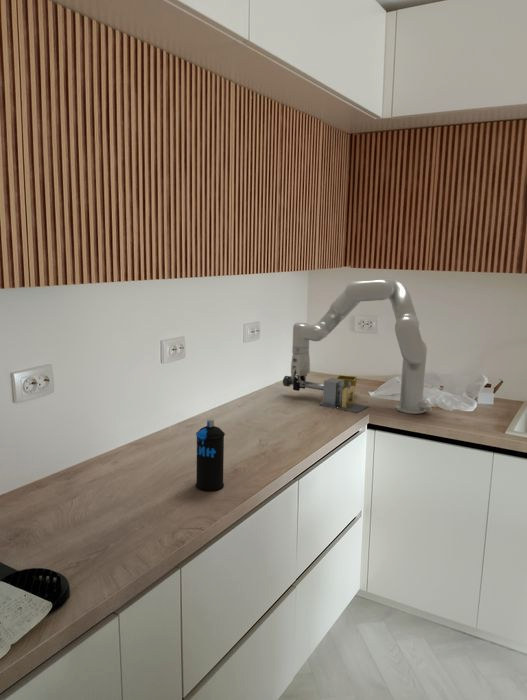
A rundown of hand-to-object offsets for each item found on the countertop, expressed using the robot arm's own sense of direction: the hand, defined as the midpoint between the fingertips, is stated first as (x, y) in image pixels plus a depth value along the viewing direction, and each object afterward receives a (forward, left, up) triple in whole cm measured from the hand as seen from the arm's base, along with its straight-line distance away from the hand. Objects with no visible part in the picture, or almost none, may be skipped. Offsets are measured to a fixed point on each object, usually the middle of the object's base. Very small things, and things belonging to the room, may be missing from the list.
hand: (299, 388), depth 271 cm
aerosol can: (-29, +103, -5) cm, 107 cm away
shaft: (-7, 0, 0) cm, 7 cm away
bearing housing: (-17, 0, -4) cm, 18 cm away
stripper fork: (-23, 0, -4) cm, 24 cm away
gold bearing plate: (-25, 0, -4) cm, 25 cm away
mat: (-27, 0, -4) cm, 27 cm away
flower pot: (-15, -17, -5) cm, 23 cm away
